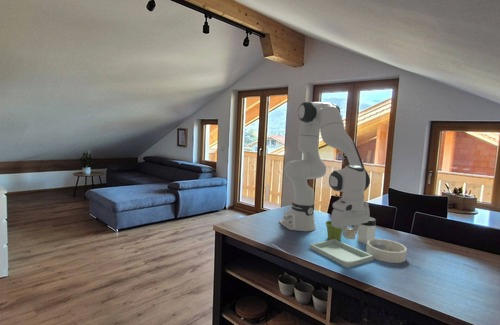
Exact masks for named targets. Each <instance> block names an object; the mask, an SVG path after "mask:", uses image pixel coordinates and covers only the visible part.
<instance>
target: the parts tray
mask: <svg viewBox="0 0 500 325" xmlns="http://www.w3.org/2000/svg"><path fill="white" fill-rule="evenodd" d="M309 249H311V250H312V251H314V252H316V253H318V254H320V255H322V256H324V257H325V258H327V259H329V260H332V261H333V262H334V263H337V264H339V265H341V266H342V267H344V268H346V269H348V268H352V267H355V266H358V265H362V264H365V263H369V262H371V261H374V258H373V255H371V254H368V253H366V251H364V250H361V249H359V248H356V247H354V246H352V245H349V244H347V243H345V242H344V241H341V240H340V241H338V240H336V239H332V240H329V239H328V240H324V241H319V242H314V243H310V244H309Z"/></svg>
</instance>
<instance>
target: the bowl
mask: <svg viewBox="0 0 500 325" xmlns="http://www.w3.org/2000/svg"><path fill="white" fill-rule="evenodd" d="M375 242H380V243H383V244H385V250H380V249H378V248H375V247H374V245H375ZM365 249H366V250H365V252H366V253H368V254H371V255H373V259H375V260H378V261H380V262H384V263H391V264H392V263H393V264H401V263H403V262H406V261H407V249H408V248H407V247H406V246H405V245H404V244H402V243H400V242H397V241H395V240H391V239H385V238H375V239H371V240H368V241H367V245H366V247H365Z"/></svg>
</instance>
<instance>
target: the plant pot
mask: <svg viewBox="0 0 500 325" xmlns="http://www.w3.org/2000/svg"><path fill="white" fill-rule="evenodd" d="M325 225H326V230H327V239H328V240H332V239H336V240H338V241H341V239H342V236H343V235H342V232H343V231H342V229H341V228H336V227H333V226H332V224H331V220H327V221H325Z"/></svg>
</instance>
